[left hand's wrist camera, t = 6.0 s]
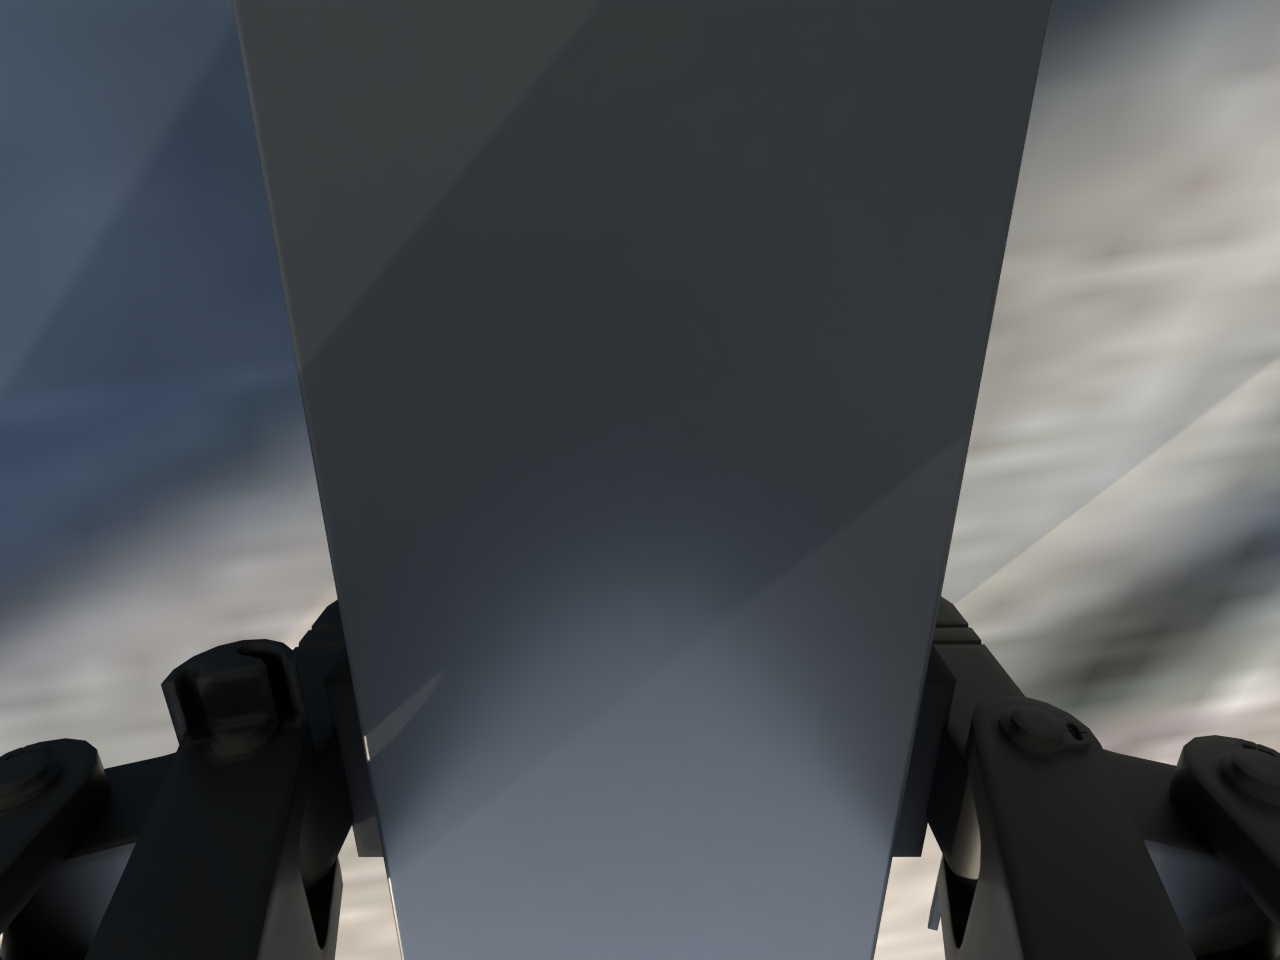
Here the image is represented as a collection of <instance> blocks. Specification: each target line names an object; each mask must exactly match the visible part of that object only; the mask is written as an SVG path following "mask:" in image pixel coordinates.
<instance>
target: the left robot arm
mask: <svg viewBox="0 0 1280 960" xmlns="http://www.w3.org/2000/svg"><path fill="white" fill-rule="evenodd" d="M161 686H162V690H163V693H164V696H165V699H166V703H167V706H168V709H169V713H170V716H171V719H172V722H173V726H174V729H175V732H176V736H177V739H178V742H179V747H178V750H177V752H176V753H172V754H169V755H165V756H162V757H157V758H153V759H148V760H143V761H139V762H134V763H130V764H125V765H120V766H116V767H111V768H107V769H104V768H103V765H102V763H101V760H100V757H99V754H98V751H97V749H96V748H94V747H93V746H92V745H91V744H89V743H88V742H87V741H84V740H76V739H67V738H65V739H58V740H51V741H44V742H39V743H36V744H32V745H28V746H26V747H23V748H22V747H21V748H19V749H16V750H13V751H11V752H8V753H6V754H4V755H3V756H1V757H0V960H335V951H336V942H337V933H338V924H339V915H340V907H341V898H342V889H343V882H342V875H341V868H340V864H339V859H338V854H339V852H340V849H341V847H342V845H343V843H344V841H345V839H346V837H347V834H348V832H349V830H350V828H351V826H353V831H354V836H355V841H356V846H357V851H358V856H359V857H383V851H382V846H381V840H380V834H379V829H378V823H377V817H376V812H375V806H374V800H373V795H372V789H371V784H370V778H369V772H368V767H367V761H366V755H365V750H364V744H363V738H362V733H361V727H360V722H359V716H358V710H357V705H356V699H355V693H354V688H353V682H352V676H351V671H350V665H349V660H348V654H347V648H346V643H345V637H344V631H343V626H342V620H341V615H340V609H339V603H338V600H336V601H335V602H333V603H332V604H330V605H329V606H327V607H326V609H325V610H324V611H323V613H322V614H321V615H320V616H319V618H318V619H317V620H316V622H315V623H314V624H313V625H312V630H308V632H307V633H306V634H305V636H304V637H303V638H302V639H301V641H300V642H299V647H295V648H294V650H292V649H290V648H289V647H288V646H287V645H285V644H284V643H282V642H277V641H272V640H268V639H256V640H242V641H237V642H233V643H229V644H225V645H221V646H217V647H215V648H212V649H210V650H208V651H205V652H203V653H200V654H198V655H196V656H193V657H192V658H190V659H189V660H187V661H186V662H184V663H183V664H181V665H180V666H178V667H177V668H175V669H174V670H173V671H172V672H171V673H170V674H169V676H168V677H167V678H166V679H165V680H164V681H163V683H162V684H161ZM928 823H929V825H930V828H931V830H932V832H933V834H934V836H935V838H936V840H937V843H938V845H939V847H940V849H941V851H942V853H943V854H942V859H941V864H940V868H939V873H938V877H937V882H936V887H935V891H934V896H933V901H932V905H931V910H930V916H929V922H928V928H929V929H933V930H938V925H939V921H940V916H941V923H942V931H943V940H944V949H945V958H946V960H1280V753H1278V752H1277V751H1275V750H1273V749H1271V748H1268V747H1266V746H1263V745H1260V744H1259V745H1258V744H1255V743H1254V742H1250V741H1246V740H1243V739H1238V738H1231V737H1224V736H1217V735H1212V736H1203V737H1195V738H1194V739H1192V740H1191V741H1190V742H1188V743H1187V744H1186V745H1184V747H1183V750H1182V752H1181V755H1180V758H1179V761H1178V764H1177V766H1174V765H1169V764H1165V763H1160V762H1155V761H1151V760H1146V759H1142V758H1137V757H1132V756H1128V755H1123V754H1118V753H1115V752H1111V751H1108V750H1104V749H1103V748H1102V746H1101V744H1100V743H1099V741H1098V740H1097V739H1096V737H1095V736H1094V735H1093V733H1092V732H1091V730H1090V729H1089V728H1088V727H1087V726H1085V725H1084V724H1083V723H1081V722H1080V721H1079V720H1077V719H1076V718H1075V717H1073V716H1072V715H1071V714H1069V713H1067V712H1065V711H1063V710H1061V709H1059V708H1057V707H1055V706H1053V705H1050V704H1048V703H1046V702H1042V701H1038V700H1035V699H1031V698H1027V697H1025V696H1024V694H1023V693H1022V692H1021V690H1020V689H1019V688H1018V687H1017V685H1016V684H1015V683H1014V682H1013V680H1012V679H1011V678H1010V676H1009V675H1008V674H1007V673H1006V671H1005V670H1004V669H1003V668H1002V666H1001V665H1000V664H999V662H998V661H997V660H996V659H995V657H994V656H993V655H992V654H991V652H990V651H989V650H988V648H987V647H986V646H985V645H982V644H981V639H980V638H979V637H978V636H977V634H976V633H975V632H974V631H973V629H972V628H969V627H968V623H967V622H966V620H965V619H964V618H963V617H962V615H961V614H960V613H959V611H958V610H957V609H956V608H955V606H954V605H953V604H952V603H950V602H949V601H947V600H946V599H944V598H943V597H940V603H939V608H938V614H937V619H936V624H935V630H934V635H933V641H932V646H931V651H930V657H929V662H928V668H927V673H926V678H925V684H924V689H923V695H922V700H921V705H920V711H919V716H918V722H917V727H916V732H915V738H914V743H913V749H912V754H911V759H910V765H909V770H908V776H907V781H906V786H905V792H904V797H903V803H902V808H901V813H900V819H899V824H898V830H897V835H896V840H895V846H894V851H893V857H921V854H922V849H923V844H924V839H925V834H926V829H927V824H928Z"/></svg>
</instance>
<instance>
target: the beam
mask: <svg viewBox="0 0 1280 960" xmlns="http://www.w3.org/2000/svg"><path fill="white" fill-rule="evenodd" d="M1050 4H1051V0H232V6H233V12H234V17H235V23H236V29H237V34H238V40H239V45H240V51H241V57H242V62H243V68H244V74H245V79H246V85H247V91H248V96H249V102H250V107H251V113H252V119H253V124H254V130H255V136H256V141H257V147H258V152H259V158H260V164H261V169H262V175H263V181H264V186H265V192H266V198H267V203H268V209H269V214H270V220H271V226H272V231H273V237H274V243H275V248H276V254H277V260H278V265H279V271H280V276H281V282H282V288H283V293H284V299H285V305H286V310H287V316H288V322H289V327H290V333H291V338H292V344H293V350H294V355H295V361H296V367H297V372H298V378H299V384H300V389H301V395H302V400H303V406H304V412H305V417H306V423H307V429H308V434H309V440H310V445H311V451H312V457H313V462H314V468H315V474H316V479H317V485H318V491H319V496H320V502H321V507H322V513H323V519H324V524H325V530H326V536H327V541H328V547H329V553H330V558H331V564H332V569H333V575H334V581H335V586H336V592H337V598H338V603H339V609H340V615H341V620H342V626H343V631H344V637H345V643H346V648H347V654H348V660H349V665H350V671H351V676H352V682H353V688H354V693H355V699H356V705H357V710H358V716H359V722H360V727H361V733H362V738H363V744H364V750H365V755H366V761H367V767H368V772H369V778H370V784H371V789H372V795H373V800H374V806H375V812H376V817H377V823H378V829H379V834H380V840H381V846H382V851H383V857H384V862H385V868H386V874H387V879H388V885H389V891H390V896H391V902H392V907H393V913H394V919H395V924H396V930H397V936H398V941H399V947H400V953H401V958H402V960H873V959H874V954H875V948H876V943H877V938H878V932H879V927H880V921H881V916H882V911H883V905H884V900H885V894H886V889H887V884H888V878H889V873H890V867H891V862H892V857H893V851H894V846H895V840H896V835H897V830H898V824H899V819H900V813H901V808H902V803H903V797H904V792H905V786H906V781H907V776H908V770H909V765H910V759H911V754H912V749H913V743H914V738H915V732H916V727H917V722H918V716H919V711H920V705H921V700H922V695H923V689H924V684H925V678H926V673H927V668H928V662H929V657H930V651H931V646H932V641H933V635H934V630H935V624H936V619H937V614H938V608H939V603H940V597H941V592H942V587H943V581H944V576H945V570H946V565H947V560H948V554H949V549H950V543H951V538H952V533H953V527H954V522H955V516H956V511H957V506H958V500H959V495H960V489H961V484H962V479H963V473H964V468H965V463H966V457H967V452H968V446H969V441H970V436H971V430H972V425H973V419H974V414H975V409H976V403H977V398H978V392H979V387H980V382H981V376H982V371H983V365H984V360H985V355H986V349H987V344H988V338H989V333H990V328H991V322H992V317H993V311H994V306H995V301H996V295H997V290H998V284H999V279H1000V274H1001V268H1002V263H1003V257H1004V252H1005V247H1006V241H1007V236H1008V230H1009V225H1010V220H1011V214H1012V209H1013V203H1014V198H1015V193H1016V187H1017V182H1018V176H1019V171H1020V166H1021V160H1022V155H1023V149H1024V144H1025V139H1026V133H1027V128H1028V122H1029V117H1030V112H1031V106H1032V101H1033V95H1034V90H1035V85H1036V79H1037V74H1038V68H1039V63H1040V58H1041V52H1042V47H1043V41H1044V36H1045V31H1046V25H1047V20H1048V14H1049V9H1050Z"/></svg>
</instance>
